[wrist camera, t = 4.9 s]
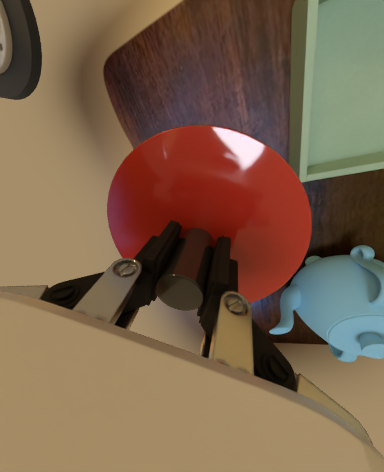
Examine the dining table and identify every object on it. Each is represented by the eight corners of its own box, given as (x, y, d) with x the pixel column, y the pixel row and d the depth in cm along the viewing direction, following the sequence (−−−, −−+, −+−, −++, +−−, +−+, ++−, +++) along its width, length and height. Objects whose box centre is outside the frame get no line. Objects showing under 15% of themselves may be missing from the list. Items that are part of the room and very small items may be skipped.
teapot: (408, 284, 30) (517, 377, 19) (300, 316, 40) (325, 390, 28) (366, 220, 27) (467, 285, 15) (258, 272, 37) (268, 336, 25)
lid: (90, 227, 15) (22, 271, 10) (194, 52, 8) (129, -78, 3) (202, 315, 17) (190, 381, 13) (352, 245, 10) (446, 334, 6)
